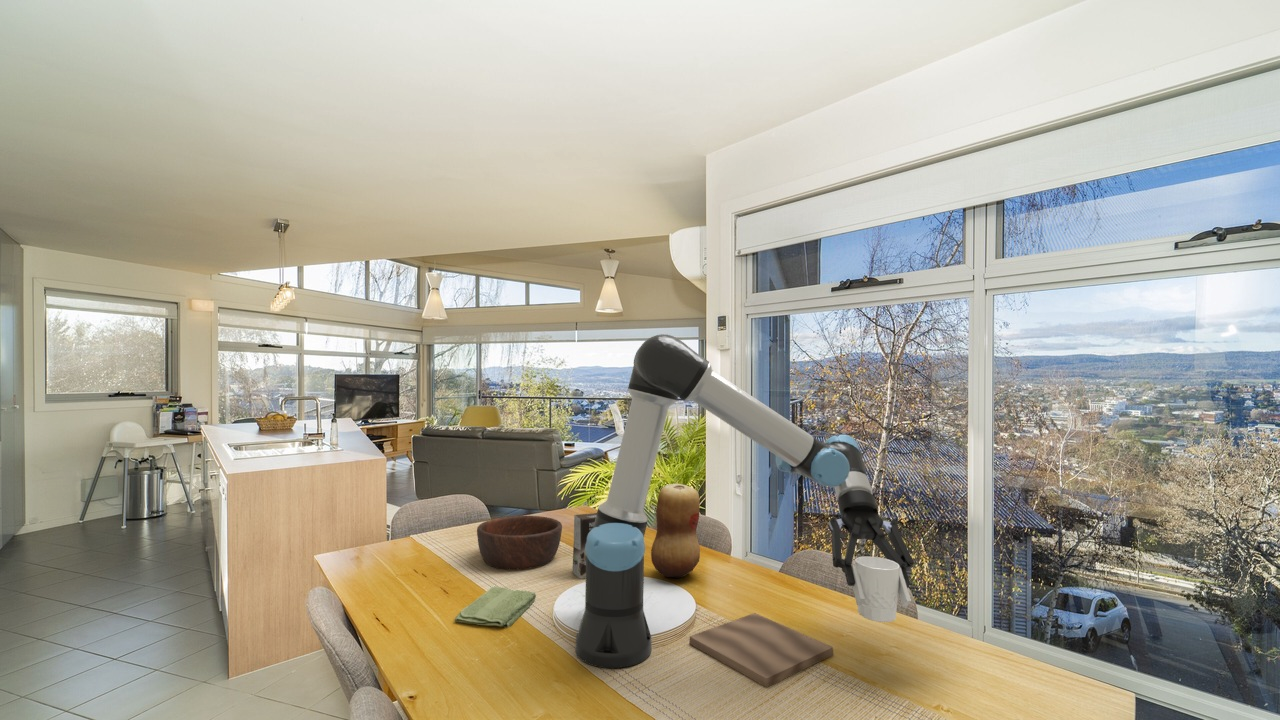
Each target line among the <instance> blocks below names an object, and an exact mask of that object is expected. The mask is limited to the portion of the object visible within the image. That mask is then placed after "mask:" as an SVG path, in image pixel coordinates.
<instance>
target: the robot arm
mask: <svg viewBox="0 0 1280 720" xmlns="http://www.w3.org/2000/svg"><path fill="white" fill-rule="evenodd" d="M627 391H628V392H629V394H630V396H631V403H630V406H629V411H628V414H627V419H626V422H625V423H626V424H625V427H624V431H623V435H622V438H621V442H620V447H619V449H618V450H619V451H618V453H617V458H616V463H615V467H614V471H613V474H612V479H611V482H610V487H609V490H608V495H607V499H606V500H605V502H602V503H600V504H599V505H598V507H597V512H596V513H597V515H596V519H595V523H594V527H593V529H592V530H591V531H590V532H589V534H588V536H587V542H586V546H585V552H586V578H585V593H584V594H585V595H584V597H585V598H584V599H585V605H584V613H583V615H582V619H581V621H580V625H579V629H578V632H577V634H576V637H575V654H576V656H577V658H578V659H580V660H581V661H582V662H584V663H586V664H588V665H592V666H594V667H600V668H604V669H605V668H606V669H607V668H608V669H618V668H626V667H627V668H628V667H630V666H634V665H637V664H640V663H642V662H644V661H645V660H646V659H648V658H649V657H650V655H651V653H652V650H653V649H652V644H653V643H652V640H653V639H652V635H651V632H650V628H649V625H648V622H647V618H646V615H645V611H644V582H645V581H644V580H645V579H644V577H645V551H646V544H645V534H646V530H647V526H648V521H649V517H648V516H647V514H646V512H645V510H644V509H645V506H646V501H647V497H648V493H649V489H650V485H651V480H652V476H653V472H654V468H655V464H656V460H657V457H658V452H659V447H660V443H661V440H662V436H663V432H664V428H665V424H666V420H667V416H668V412H669V408H670V407H671V406H672V405H674V404H676V403H677V402H678V398H679V399H680V400H682V401H683V402H689V401H693V402H694V403H695V404H697V405H698V406H700V407H701V408H703V409H704V410H706V411H708V412H709V413H710V414H712V415H714V416H715V417H717V418H718V419H720V420H721V421H723V422H724V423H726V424H727V425H729V426H731V428H733V429H735V430H737V431H738V432H740V433H741V434H743V435H744V436H745V437H747V438H748V439H750V440H752V441H753V442H755V443H757V444H758V445H759V446H761V447H762V448H764V450H765V449H766V450H767V451H768V452H770V453H772V454H774V455H775V466H776V468H777V469H778V470H779V471H780V472H785V473H789V474H799V475H801V476H803V477H805V478H807V479H810V480H812V481H813V482H816V483H817V484H819V485H821V486H824V487H830V488H831V487H832V488H834V492H835V496H836V500H837V505H838V508H839V513H840V517H841V518H838V519H837V518H835V517H831V518H830V520H829V522H828V524H827V525H828V530H829V531H830V534H831V551H832V555H831V556H832V566H833V567H834V568H836V569H837V568H840V569H841V571H842V572H843V573H844V576H845V580H846V581H845V582H846V585H848V586H850V587H852V589H853V593H854V599H855V603H856V605H857V606H858V605H861V604H862V603H863V601H864V599H865V598H864V594H863V590H862V586H861V582H860V578H859V574H858V570H857V567H856V566H855V565H854V564H853V559H854V555H855V550H856V546H857V540H867V541H868V540H869V541H870V540H871V542H872V543H873V544H874V545H876V546H877V548H878V549H879V551H880V552H881V553H882V554H883V556H884V558H885V559H888V560H891V561H894V562H896V563H898V564H899V566H900V569H899V588H898V596H899V600H900V604H901V606H902V608H908V606H909V605H910V603H911V602H912V599H911V595H910V593H909V587H910V585H911V582H910V579H909V575H908V572H909V571H910V570H911V569H912V568H913V565H914V564H915V562H914V560H913V558H912V555H911V553H910V551H909V549H908V548H907V546H906V544H905V541H904V540H903V537H902V535H901V533H900V530H899V527H898V522H897V520H895V519H892V520H891V521H887V520H884V519H883V518H882V517H881V516H880V514H879V509H878V506H877V503H876V500H875V497H874V494H873V491H872V486H871V483H870V480H869V478H868V474H867V470H866V468H865V463H864V461H863V455H862V452H861V450H860V447H859V445H858V442H857V441H856V440H855V438H854V437H853V436H850V435H848V434H839V435H833V436H830V437H829V438H827V440H826V441H825V442H822V441H820V440H819V439H817V438H816V437H814V436H813V435H811V433H808V432H807V431H805V430H804V429H803V428H801V427H799V426H798V425H797V424H795V423H793V422H792V421H791V420H789V419H787V418H785V416H783V415H781V414H780V413H778V412H776V411H775V410H774V409H773V408H771V407H769V406H768V405H766V404H764V403H763V402H762V401H760V400H758V399H757V398H756V397H754V396H752V395H751V394H749V393H748V392H747V391H745V390H744V389H742V388H740V387H739V386H737V385H736V384H734V383H733V382H731V381H730V380H729V379H727V378H725V377H724V376H722V375H721V374H719V373H718V372H717V371H715V370H714V369H713V368H712V363H711V362H710V361H708V360H707V359H705V358H704V357H703V356H702V355H700V354H699V353H697V352H696V351H695V350H693V349H692V348H691V347H690V346H689V345H687V344H686V343H685V342H684V341H682V340H681V339H680V338H678V337H676V336H673V335H670V334H657V335H653V336H651V337H648V338H647V339H646V340H645V341H644V342H643V343H642V344H641V345H640V347H639V348H638V349H637V351H636V352H635V355H634V357H633V367H632V370H631V375H630V379H629V382H628V387H627ZM842 527H843V528H844V529H845V530H846V531H847V532H848V533H849V535H848V540H847V541H848V542H847V546H846V550H845V555H844V558H843V557H842V555H843V554H842V540H841V539H842V538H841V529H842ZM882 528H883V529H884V530H885V533H886V534H888V539H889V540H888V539H887V538H886V536H885V533H884V532H883V530H882ZM890 541H891V543H890ZM852 564H853V565H852ZM907 571H908V572H907Z"/></svg>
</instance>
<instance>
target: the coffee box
mask: <svg viewBox="0 0 1280 720" xmlns="http://www.w3.org/2000/svg"><path fill="white" fill-rule="evenodd" d="M596 515H597V512H591V513H581V514H574V515H573V516H574V517H573V518H574V519H573V523H574V524H573V543H572V544H573V545H572V546H573V547H572V548H573V551H572V573H573V574H574V575H575V576H576V577H577V578H579V579H580V580H584V579H586V552H585V546H586V542H587V536H588V534H589V532H590V531H591V530H592V529H593V527H594V523H595V519H596Z"/></svg>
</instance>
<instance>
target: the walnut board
mask: <svg viewBox="0 0 1280 720" xmlns="http://www.w3.org/2000/svg"><path fill="white" fill-rule="evenodd" d="M689 644H690V646H693V647H694V648H696V649H698V650H700V651H702V652H703V653H705V654H707V655H708V656H710V657H712V658H714V659H715V660H717V661H719V662H720V663H723V664H724V665H726V666H728V667H730V668H731V669H734V670H735V671H736V672H738V673H740V674H742V675H744V676H746V677H748V678H749V679H751V680H753V681H755V682H756V683H758V684H760V685H762V686H763V687H765V688H769V687H770V686H772V685H774V684H777V683H778V682H781V681H782V680H784V679H787V678H789V677H791V676H793V675H795V674H797V673H799V672H801V671H803V670H805V669H807V668H809V667H811V666H813V665H815V664H818V663H819V662H821V661H823V660H825V659H827V658H830V657H832V656H834V647H833V646H831V645H829V644H826V643H824V642H822V641H820V640H818V639H815V638H812V637H811V636H808V635H807V634H804V633H802V632H799V631H797V630H795V629H793V628H791V627H788V626H786V625H784V624H782V623H779V622H776V621H774V620H772V619H770V618H768V617H765V616H763V615H760V614H758V613H755V612H754V613H751V614H748V615H745V616H743V617H740V618H738V619H734V620H732V621H728V622H726V623H724V624H720V625H717V626H714V627H712V628H709V629H706V630H703V631H701V632H698V633H695V634H692V635H689Z"/></svg>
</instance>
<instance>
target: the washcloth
mask: <svg viewBox="0 0 1280 720" xmlns="http://www.w3.org/2000/svg"><path fill="white" fill-rule="evenodd" d="M536 597H537V594H536V592H535V591H534V592H533V591H530V590H528V591H527V590H520V589H515V590H514V589H508V588H507V587H501V586H491V587H490V588H489V589H488V590H487V591H486V592H485V593H483V594H481V595H480V596H479V597H478V598H476V599H475V600H474V601H472V602H471V603H470V604H469V605H467V606H465V607H464V608H462V609H461V611H460V612H459V613H457V615H455V618H454V622H456V623H457V622H458V624H460V623H461V624H468V625H469V624H470V625H477V626H479V625H480V626H495V627H500V628H501V627H502V628H510V627H512V625H513V624H514V623H515V622H516V621H517V620H518V619H519V618H520V617H522V615H523V614H525V612H526V611H527V610H528V609H529V608H530V607H531V606H532V605H533V603H534V602H535V600H536Z"/></svg>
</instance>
